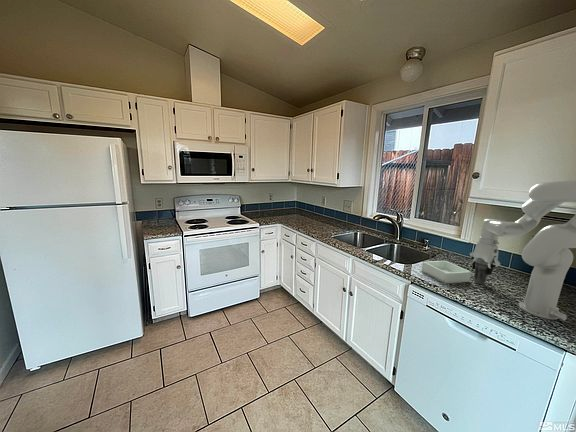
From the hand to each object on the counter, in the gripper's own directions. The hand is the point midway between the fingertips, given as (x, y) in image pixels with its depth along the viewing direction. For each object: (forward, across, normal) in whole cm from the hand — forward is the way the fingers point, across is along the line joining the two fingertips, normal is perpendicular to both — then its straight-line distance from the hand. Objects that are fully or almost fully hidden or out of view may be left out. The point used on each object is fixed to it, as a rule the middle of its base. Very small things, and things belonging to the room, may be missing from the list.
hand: (481, 271), depth 132 cm
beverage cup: (+7, 0, 0) cm, 7 cm away
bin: (+7, +10, +14) cm, 18 cm away
